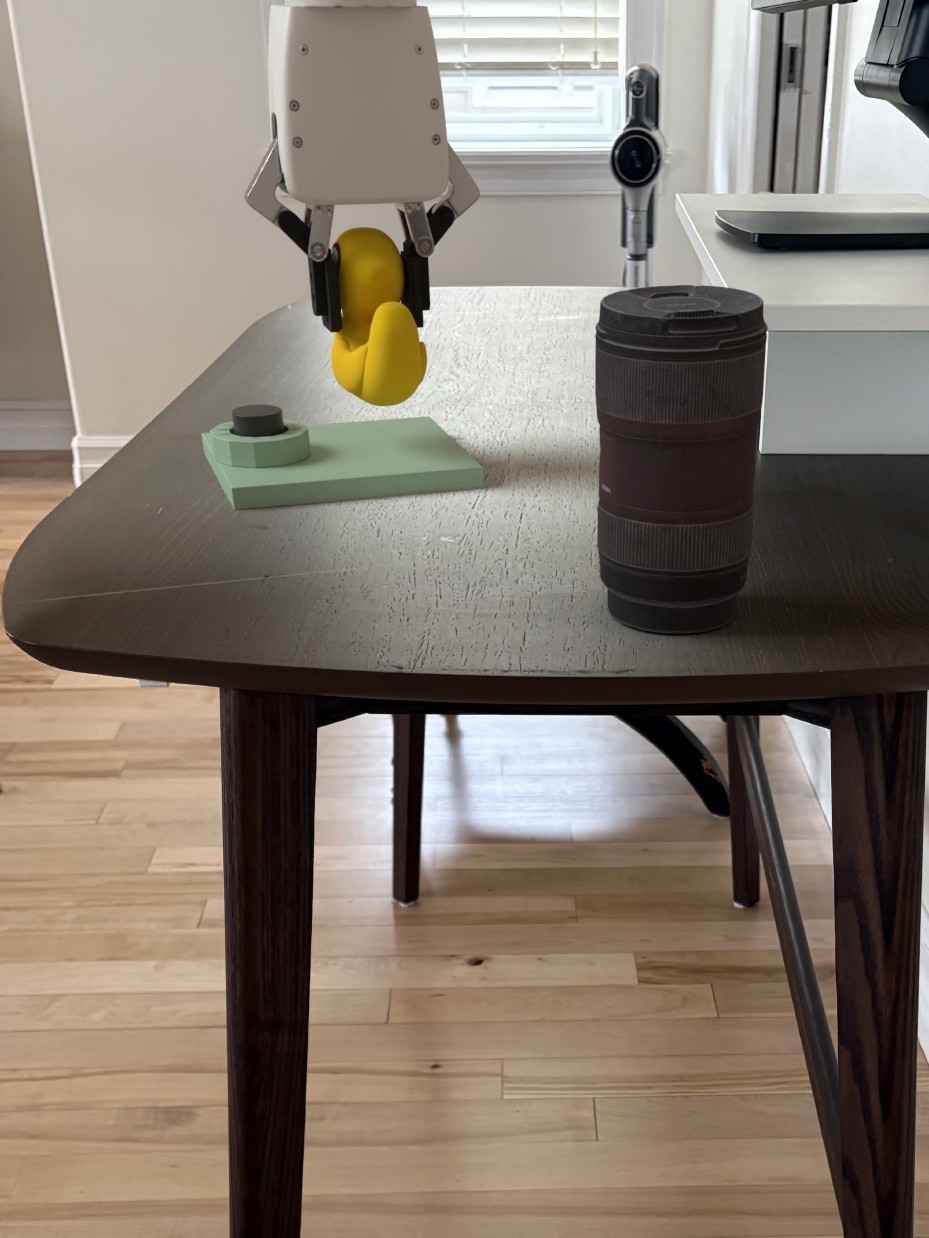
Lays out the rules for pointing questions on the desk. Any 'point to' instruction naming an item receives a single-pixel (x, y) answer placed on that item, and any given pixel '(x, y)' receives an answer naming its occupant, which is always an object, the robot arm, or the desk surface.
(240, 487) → the scale
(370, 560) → the desk surface
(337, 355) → the duckling
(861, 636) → the desk surface
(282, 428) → the button
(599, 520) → the camera lens
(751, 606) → the desk surface
